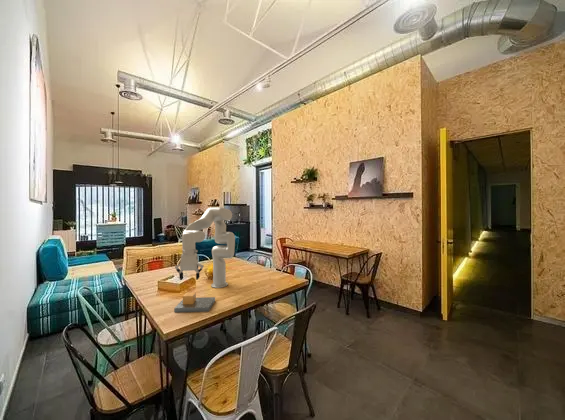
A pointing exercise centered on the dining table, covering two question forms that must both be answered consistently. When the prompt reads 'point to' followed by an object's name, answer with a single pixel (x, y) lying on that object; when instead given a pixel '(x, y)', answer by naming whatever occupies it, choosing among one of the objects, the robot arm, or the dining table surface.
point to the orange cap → (189, 298)
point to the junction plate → (196, 305)
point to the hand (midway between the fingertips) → (189, 279)
